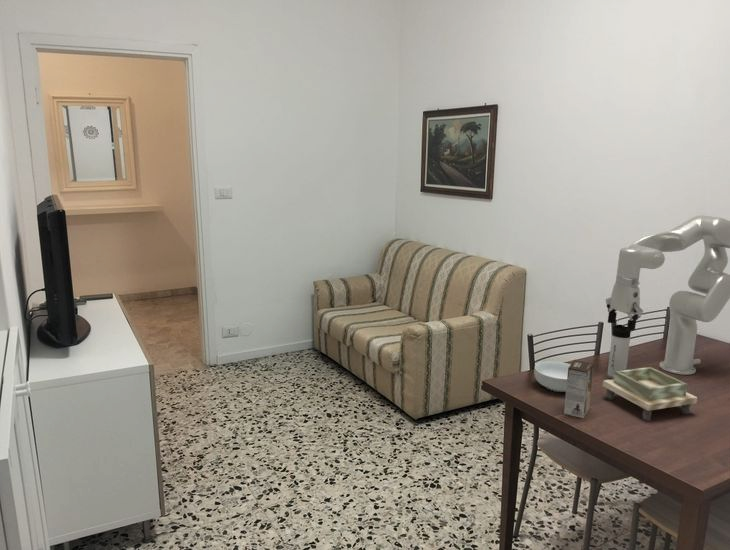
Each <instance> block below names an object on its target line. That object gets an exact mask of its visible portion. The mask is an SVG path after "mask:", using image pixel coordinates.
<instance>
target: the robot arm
mask: <svg viewBox="0 0 730 550" xmlns="http://www.w3.org/2000/svg"><path fill="white" fill-rule="evenodd" d="M702 240H703V245H704V253H703V256H702V258H701V260H699V261H700V262H699V263H698V265H697V266H696V267H695V269H694V270H693V271H692V273H691V274H690V277H689V278H688V282H687V285H688V288H690V289H691V290H692V291H694V292H692V291H688V290H679V291H678V290H677V291H675V292H674V293H673V294H671V296H670V299H669V327H668V333H667V340H666V348H665V356H664V360H663V361H660V362H659V368H660V369H662V370H663V371H666V372H667V373H673V374H675V375H685V376H686V375H687V376H690V375H693V374H696V371H697V369H696V367H694V365H698V364H701V359H700V358H694V355H695V347H696V340H697V339H696V338H697V335H698V324H697V321H698V322H702V323H710V322H712V321H714V320H715V319H716V318H717V317H718V316H719V315H720V313H721V312H722V310H723V309H724V307H725V306H726V305H727V303H728V301H729V300H730V274H729V273H727V272H724V271H725V270H726V267H727V265H728V263H729V257H728V253H727V251H726V249H730V220H728V219H726V218H723V217H719V216H718V217H717V216H710V215H695V216H693V217H691V218H690V219H688V220H686V221H684V222H683V223H681V224H679V225H677V226H676V227H674V228H672V229H670V230H668V231H662V232H659V233H655V234H651V235H649V236H645V237H642V238H641V239H639V240H637V241H635V242H633V243H632V244H631V245H629V246H628V247H622V248H621V249H620V250H619V253H618V263H617V270H616V277H615V283H614V284H613V288H612V290H611V295H610V297H608V298H606V299H605V302H606V308H607V312H608V316H607V317H608V318H607V323H608V324H614V323H616V321H617V312H616V311H618V312H621V313H624V314H626V315H627V316H628V320H627V325H626V327H627V330H628V331H631V332H632V331H635V330H636V325H637V321H638V320H639V319H640V318H641V316H642V314H643V313H644V310H643V309H642V308H641V307H640V303H641V291H640V287H639V285H640V273H641V269H649V270H657V269H659V268H660V267H662V266H663V265H664V263H665V261H666V257H665V254H664V253H674V252H680V251H684V250H686V249H687V248H689V247H691V246H692V245H694V244H695V243H698V242H700V241H702ZM696 292H698V293H696ZM702 294H703V295H702Z"/></svg>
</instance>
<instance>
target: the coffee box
mask: <svg viewBox="0 0 730 550" xmlns="http://www.w3.org/2000/svg"><path fill="white" fill-rule="evenodd" d="M594 365H595V363H594V362H589V361H583V360H578V359H573V360H572V362H571V364H570V366H569V368H568V376H567V387H566V392H565V399H564V409H563V414H564V415H568V416H572V417H577V418H581V419H584V418H585V417H586V415H587V413H588V412H589V409H590V403H591V394H592V386H593V385H592V383H593V376H594V375H593V374H594V367H595V366H594Z"/></svg>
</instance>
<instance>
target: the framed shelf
mask: <svg viewBox="0 0 730 550" xmlns="http://www.w3.org/2000/svg"><path fill="white" fill-rule="evenodd" d="M602 387H604V388H606V389H607V391H606V399H607V400H611V401H614V399H615V394H617V395H618V396H620V397H622V398H624V399H626V400H627V401H629V402H631V403H633V404H635V405H637V406H639V407H640V408H641V409H642V416H641V419H642V420H644V421H646V422H647V421H648V422H649V421H651V418H652V411H655V410H663V409H667V408H674V407H681V408H680V413H681V414H684V415H689V414H690V410H691V405H693V404H694V405H695V404H697V403H698V397H697V396H695V395H694V394H691V393H689V392H687V391H688V390H687V389H688V383H687V382H684V381H682V380H680V379H679V378H676V377H674V376H671V375H669V374H667V373H664V372H662V371H660V370H658V369H656V368H654V367H652V366H648V367H640V368H633V369H626V370H623V371H615V374H614V379H603V381H602Z"/></svg>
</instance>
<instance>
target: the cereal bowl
mask: <svg viewBox="0 0 730 550" xmlns="http://www.w3.org/2000/svg"><path fill="white" fill-rule="evenodd" d="M570 365H571V364H570V363H566V362H561V361H554V360H553V361H552V360H551V361H549V360H548V361H547V360H546V361H540V362H538V363H536V364H535V366H534V368H533V369H534V370H533V371H534V372H533V373H534V378H535V379H536V381H537V382H538V384H540V385H541V386H543V387H545V388H546V389H547V390H549V389H550V390H549V391H552V390H553V392H557V393H566V387H567V376H568V368H569V366H570Z"/></svg>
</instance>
